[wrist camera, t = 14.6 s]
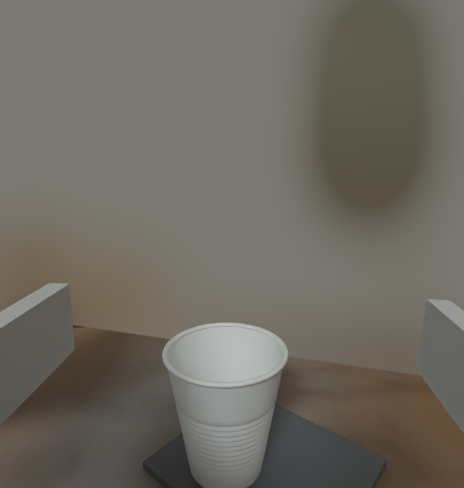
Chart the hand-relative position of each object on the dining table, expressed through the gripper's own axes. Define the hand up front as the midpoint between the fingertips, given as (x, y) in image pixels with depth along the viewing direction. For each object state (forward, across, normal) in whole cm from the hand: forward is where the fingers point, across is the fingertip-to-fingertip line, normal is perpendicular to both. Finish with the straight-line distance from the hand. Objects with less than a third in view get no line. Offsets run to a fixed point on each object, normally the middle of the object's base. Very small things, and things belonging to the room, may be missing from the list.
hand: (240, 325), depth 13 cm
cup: (+13, -2, -20) cm, 24 cm away
